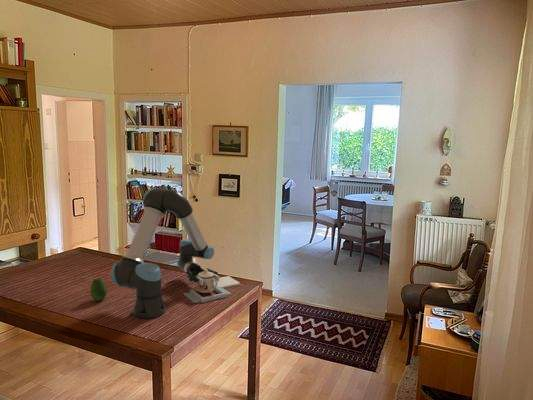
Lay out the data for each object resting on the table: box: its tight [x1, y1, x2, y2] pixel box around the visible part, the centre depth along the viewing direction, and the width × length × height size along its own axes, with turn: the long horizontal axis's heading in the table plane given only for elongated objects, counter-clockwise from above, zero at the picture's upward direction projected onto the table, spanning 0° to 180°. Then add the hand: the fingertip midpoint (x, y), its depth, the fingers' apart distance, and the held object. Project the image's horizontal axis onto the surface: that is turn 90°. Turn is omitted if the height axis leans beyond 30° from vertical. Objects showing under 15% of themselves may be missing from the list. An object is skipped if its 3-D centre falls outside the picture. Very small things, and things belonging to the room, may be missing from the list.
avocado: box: [90, 277, 108, 302], centre depth 208 cm, size 8×8×12 cm
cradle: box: [183, 285, 232, 304], centre depth 218 cm, size 22×15×2 cm
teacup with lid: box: [197, 269, 217, 294], centre depth 219 cm, size 12×9×12 cm
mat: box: [214, 275, 241, 289], centre depth 237 cm, size 14×14×1 cm
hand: (210, 280), depth 215 cm, fingers closed on teacup with lid, 9 cm apart
